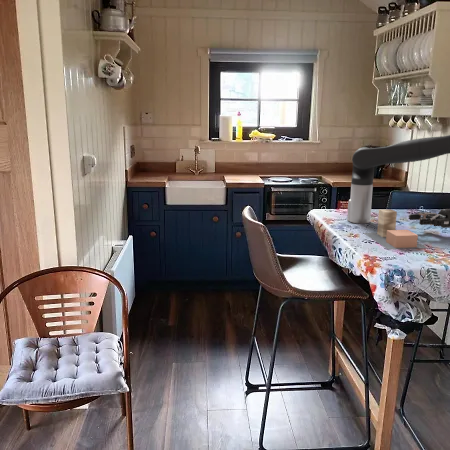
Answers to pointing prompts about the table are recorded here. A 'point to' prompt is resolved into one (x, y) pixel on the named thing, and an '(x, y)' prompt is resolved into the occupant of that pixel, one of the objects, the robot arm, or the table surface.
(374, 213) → the table surface
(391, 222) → the pillar
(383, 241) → the build mat
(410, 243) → the base block
